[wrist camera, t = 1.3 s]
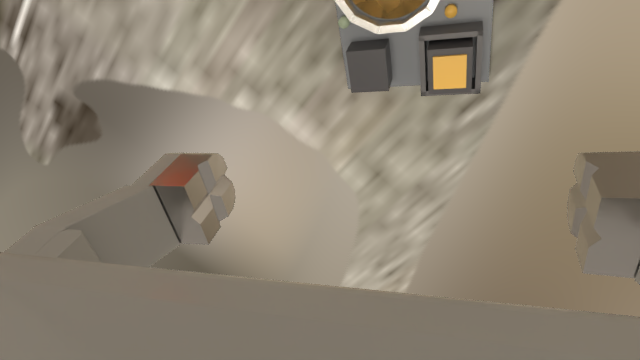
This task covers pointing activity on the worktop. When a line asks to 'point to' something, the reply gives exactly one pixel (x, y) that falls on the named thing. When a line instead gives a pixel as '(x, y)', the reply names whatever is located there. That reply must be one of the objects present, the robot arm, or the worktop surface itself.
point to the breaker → (450, 65)
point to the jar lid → (386, 13)
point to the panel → (414, 46)
